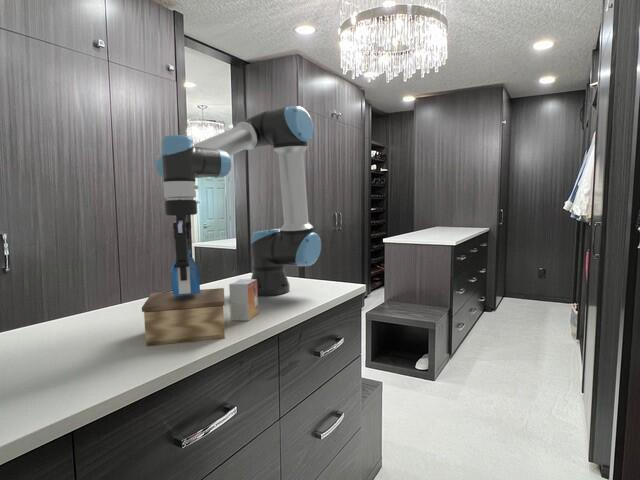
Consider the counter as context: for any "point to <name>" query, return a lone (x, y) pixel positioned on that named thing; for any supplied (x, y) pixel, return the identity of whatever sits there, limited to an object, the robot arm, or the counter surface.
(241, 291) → the small box
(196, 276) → the perfume bottle
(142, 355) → the counter surface
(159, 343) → the box
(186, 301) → the lid
